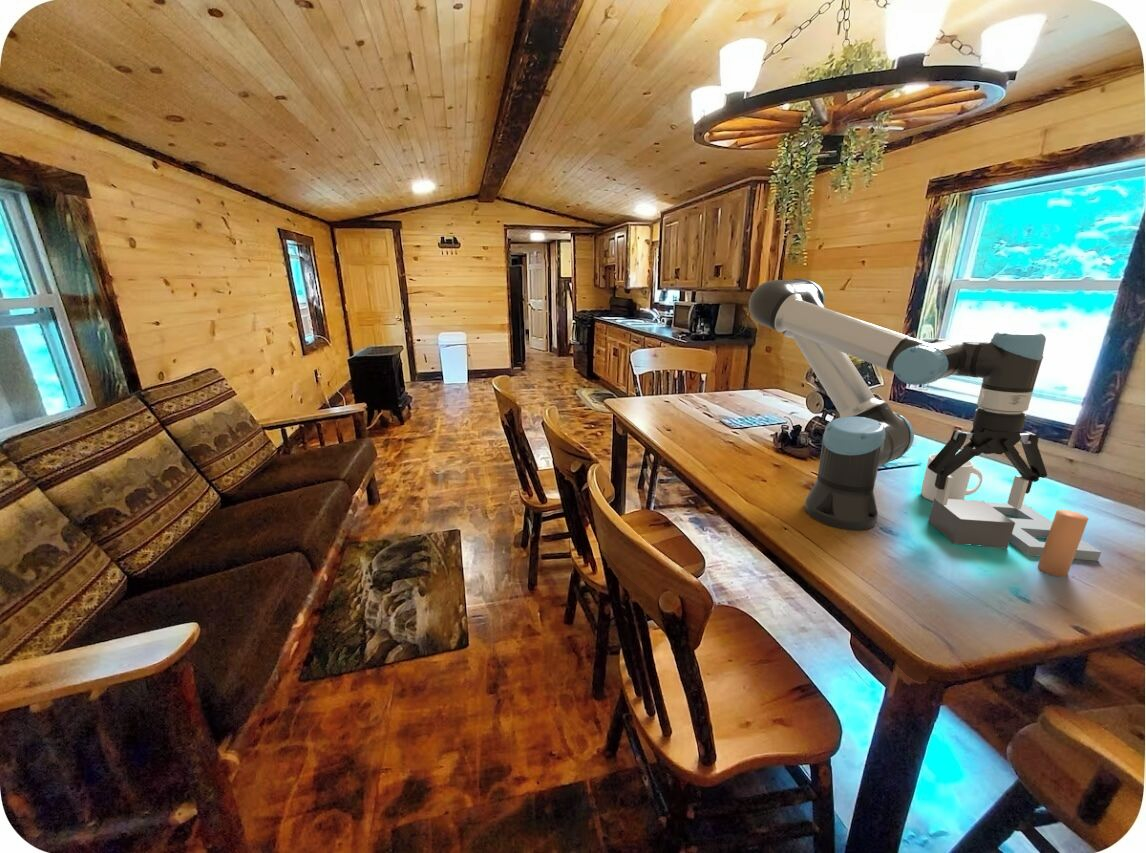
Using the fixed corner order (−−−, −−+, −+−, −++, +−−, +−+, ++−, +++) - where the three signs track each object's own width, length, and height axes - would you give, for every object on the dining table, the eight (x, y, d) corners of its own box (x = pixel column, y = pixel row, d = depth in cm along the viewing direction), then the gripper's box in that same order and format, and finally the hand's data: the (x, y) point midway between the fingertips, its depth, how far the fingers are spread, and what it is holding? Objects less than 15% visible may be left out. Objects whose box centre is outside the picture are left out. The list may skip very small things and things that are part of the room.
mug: (986, 509, 108) (998, 469, 105) (929, 504, 111) (939, 465, 108) (966, 493, 116) (977, 455, 113) (914, 489, 119) (922, 452, 116)
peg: (1048, 575, 84) (1068, 519, 80) (1032, 563, 88) (1050, 509, 84) (1073, 577, 83) (1094, 521, 79) (1056, 565, 87) (1075, 510, 83)
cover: (953, 543, 94) (960, 519, 93) (928, 520, 104) (934, 497, 102) (1007, 548, 93) (1015, 522, 91) (976, 524, 102) (983, 500, 100)
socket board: (1026, 554, 90) (1029, 546, 90) (965, 508, 109) (967, 501, 108) (1097, 560, 88) (1101, 551, 87) (1022, 512, 106) (1025, 504, 106)
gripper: (941, 413, 88) (920, 508, 94) (1092, 415, 83) (1060, 516, 89) (921, 404, 95) (903, 493, 101) (1059, 406, 90) (1031, 500, 96)
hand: (976, 504), depth 95 cm, fingers open, 13 cm apart
